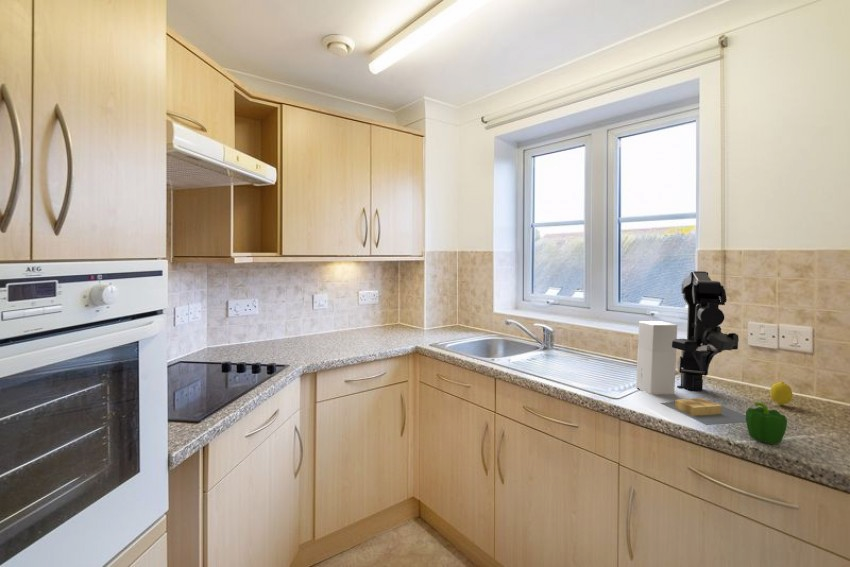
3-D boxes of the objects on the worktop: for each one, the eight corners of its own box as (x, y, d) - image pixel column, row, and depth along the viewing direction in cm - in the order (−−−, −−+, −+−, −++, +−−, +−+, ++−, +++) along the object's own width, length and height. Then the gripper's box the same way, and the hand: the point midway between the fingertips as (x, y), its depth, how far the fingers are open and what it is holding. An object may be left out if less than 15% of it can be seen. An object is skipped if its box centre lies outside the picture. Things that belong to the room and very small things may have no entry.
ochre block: (702, 405, 132) (674, 407, 131) (702, 398, 132) (675, 399, 130) (721, 413, 125) (692, 415, 124) (721, 405, 125) (693, 407, 124)
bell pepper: (787, 440, 109) (789, 403, 108) (784, 450, 103) (786, 411, 102) (747, 431, 115) (749, 395, 114) (742, 440, 109) (744, 403, 108)
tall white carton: (635, 388, 152) (638, 321, 150) (658, 387, 153) (661, 320, 151) (650, 396, 143) (653, 324, 142) (674, 395, 144) (677, 324, 142)
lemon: (795, 409, 131) (796, 384, 131) (773, 407, 133) (775, 383, 133) (786, 403, 136) (788, 380, 136) (766, 401, 138) (767, 378, 138)
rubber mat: (659, 404, 135) (659, 402, 135) (707, 401, 138) (707, 399, 138) (706, 426, 117) (706, 424, 117) (759, 422, 120) (759, 420, 120)
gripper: (701, 327, 118) (698, 380, 119) (756, 325, 121) (753, 377, 122) (671, 320, 129) (669, 369, 130) (723, 319, 132) (720, 367, 133)
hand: (703, 371), depth 128 cm, fingers closed
